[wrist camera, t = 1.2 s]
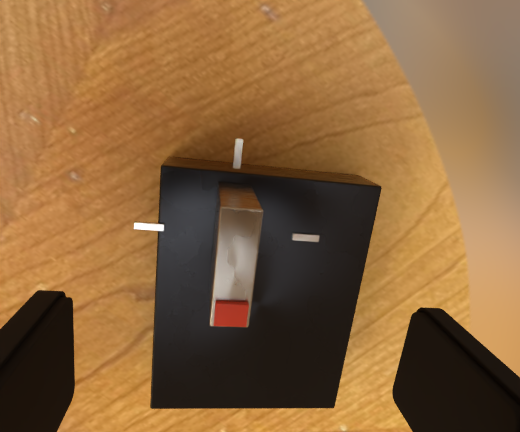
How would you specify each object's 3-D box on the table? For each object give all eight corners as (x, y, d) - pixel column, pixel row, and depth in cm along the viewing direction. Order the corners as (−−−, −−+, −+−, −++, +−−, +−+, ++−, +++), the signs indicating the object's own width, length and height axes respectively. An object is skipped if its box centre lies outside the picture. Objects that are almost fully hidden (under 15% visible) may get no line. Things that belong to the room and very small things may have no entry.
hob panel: (148, 123, 19) (136, 127, 16) (365, 148, 21) (390, 155, 18) (139, 372, 24) (129, 411, 21) (320, 374, 25) (335, 410, 22)
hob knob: (218, 181, 18) (220, 208, 13) (251, 184, 18) (264, 211, 13) (209, 276, 19) (209, 330, 14) (240, 278, 19) (249, 331, 15)
